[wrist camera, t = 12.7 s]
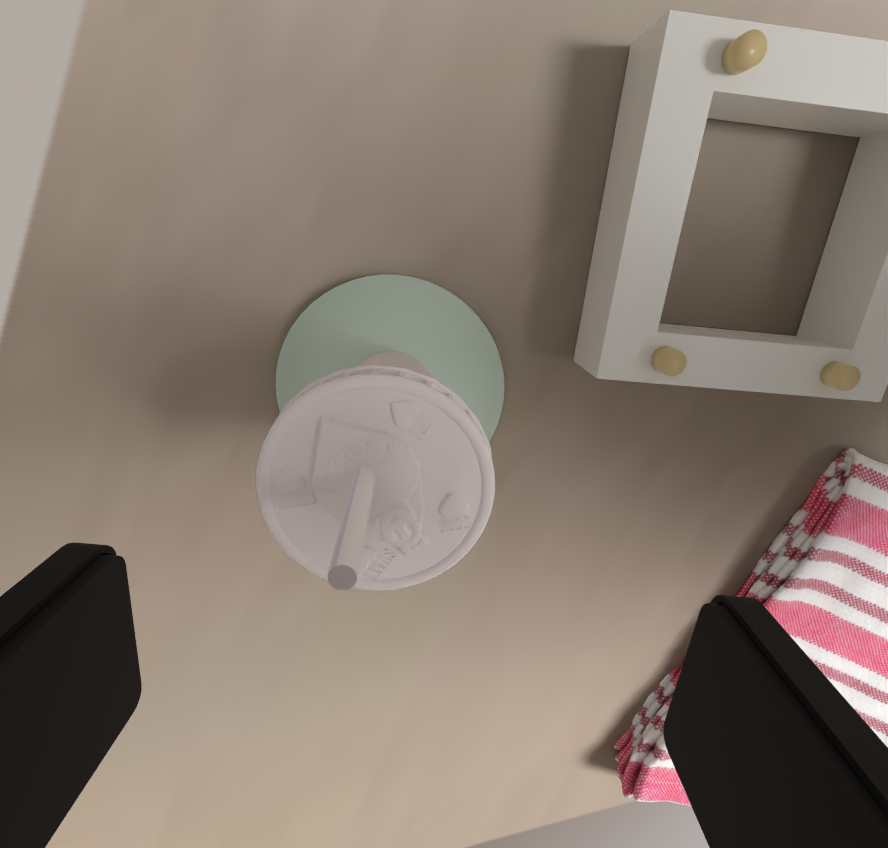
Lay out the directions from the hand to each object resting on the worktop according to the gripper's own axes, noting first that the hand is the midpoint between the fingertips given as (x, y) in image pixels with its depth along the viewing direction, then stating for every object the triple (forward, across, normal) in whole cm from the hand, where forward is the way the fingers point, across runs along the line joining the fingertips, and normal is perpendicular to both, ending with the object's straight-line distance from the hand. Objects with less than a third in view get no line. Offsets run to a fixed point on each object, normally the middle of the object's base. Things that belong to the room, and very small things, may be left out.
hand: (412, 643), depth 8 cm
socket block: (+16, -12, -8) cm, 22 cm away
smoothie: (+15, +2, 0) cm, 15 cm away
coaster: (+16, +2, 0) cm, 16 cm away
